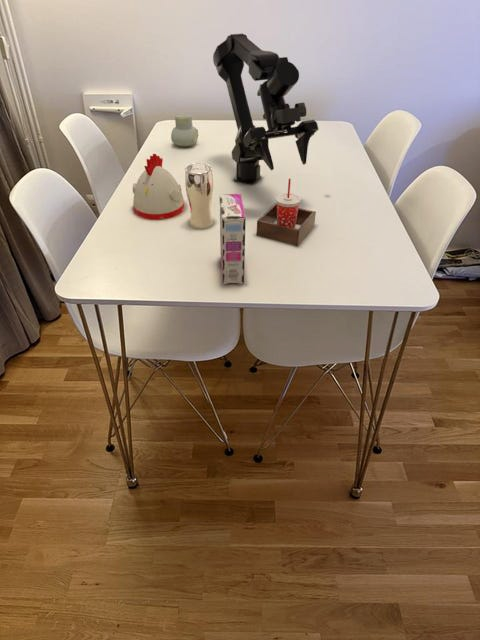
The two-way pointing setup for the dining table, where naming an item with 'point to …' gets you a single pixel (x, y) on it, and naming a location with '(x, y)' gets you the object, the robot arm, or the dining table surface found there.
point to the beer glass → (199, 194)
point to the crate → (282, 232)
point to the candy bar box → (232, 238)
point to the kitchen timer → (157, 192)
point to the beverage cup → (287, 208)
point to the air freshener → (184, 130)
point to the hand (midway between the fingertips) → (288, 166)
